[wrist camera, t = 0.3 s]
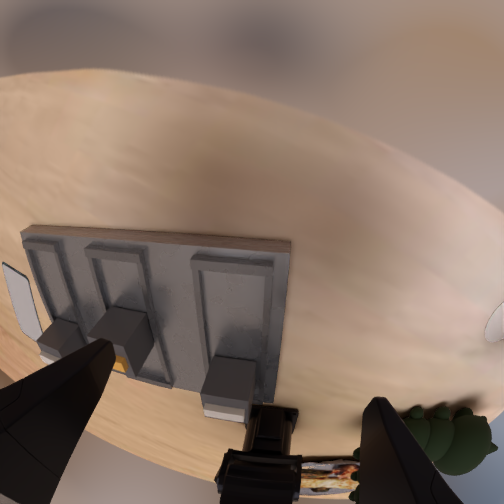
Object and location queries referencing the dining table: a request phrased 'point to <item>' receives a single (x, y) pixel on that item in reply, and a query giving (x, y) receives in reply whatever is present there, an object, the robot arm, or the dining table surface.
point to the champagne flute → (495, 325)
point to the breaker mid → (125, 338)
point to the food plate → (328, 477)
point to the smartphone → (22, 302)
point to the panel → (170, 295)
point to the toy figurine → (446, 441)
